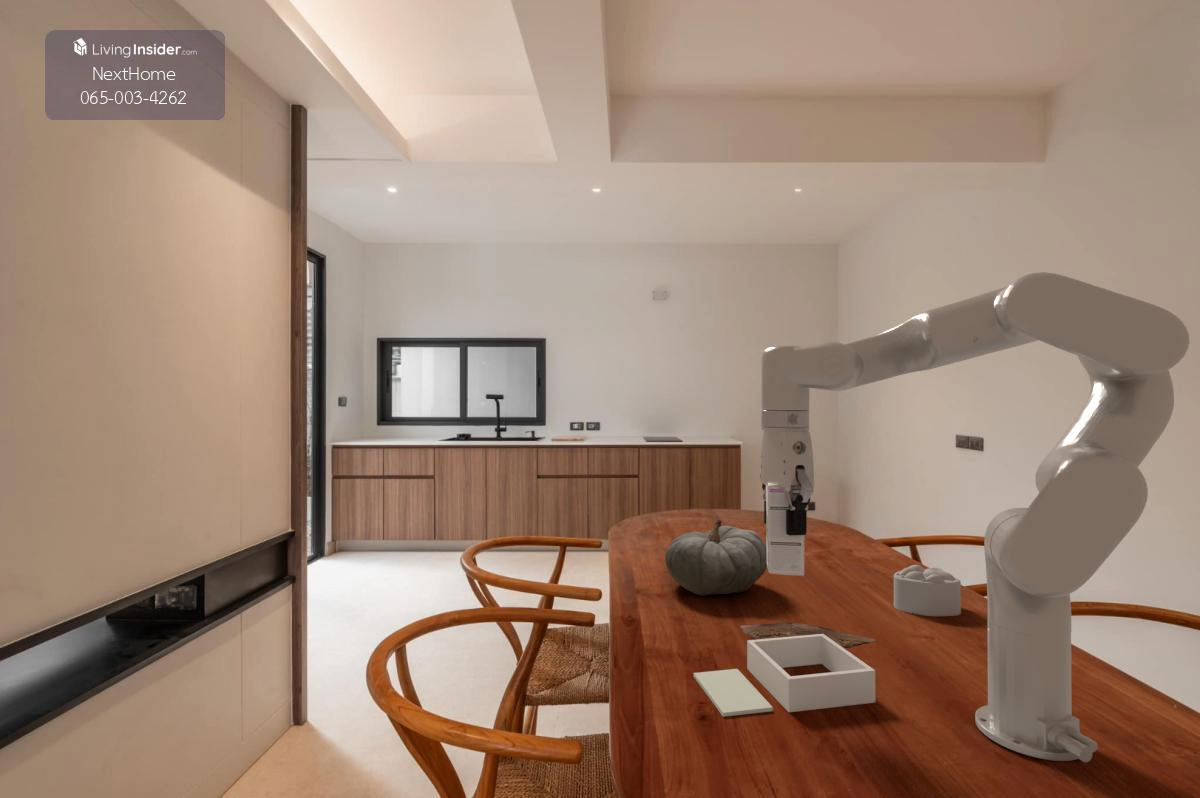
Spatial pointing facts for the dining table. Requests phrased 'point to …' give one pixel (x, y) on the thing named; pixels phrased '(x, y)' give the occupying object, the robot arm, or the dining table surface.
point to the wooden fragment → (801, 633)
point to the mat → (732, 692)
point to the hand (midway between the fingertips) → (784, 528)
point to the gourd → (717, 560)
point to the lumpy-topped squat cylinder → (927, 592)
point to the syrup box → (781, 535)
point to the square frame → (811, 691)
